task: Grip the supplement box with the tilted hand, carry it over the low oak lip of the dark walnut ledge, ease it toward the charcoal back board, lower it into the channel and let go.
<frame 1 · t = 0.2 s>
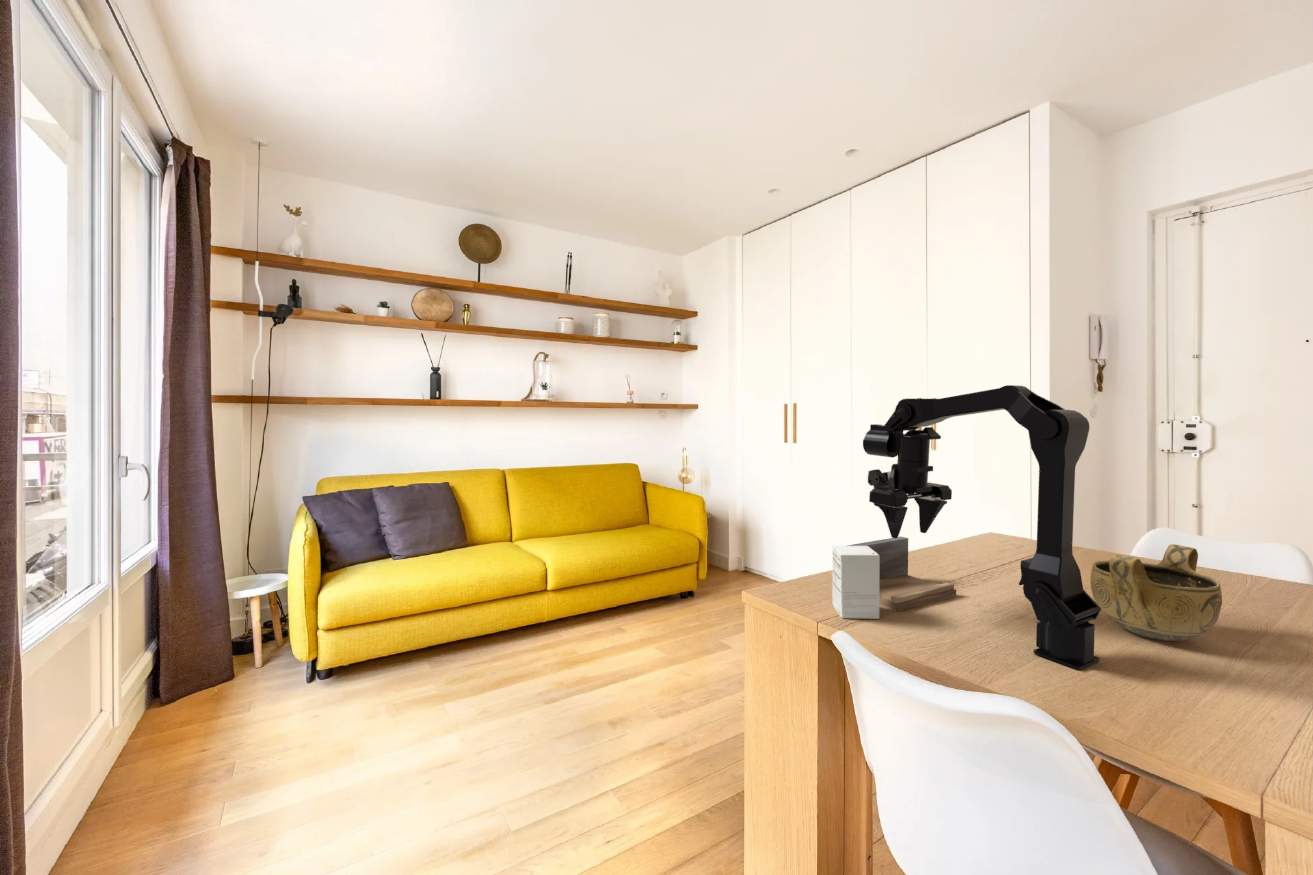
hand: (909, 535, 108), 14 cm above the table, tool pointing down, fingers open, 9 cm apart
supplement box: (854, 613, 104), on the table
ledge: (899, 593, 115), on the table
ceramic bowl: (1150, 634, 93), on the table
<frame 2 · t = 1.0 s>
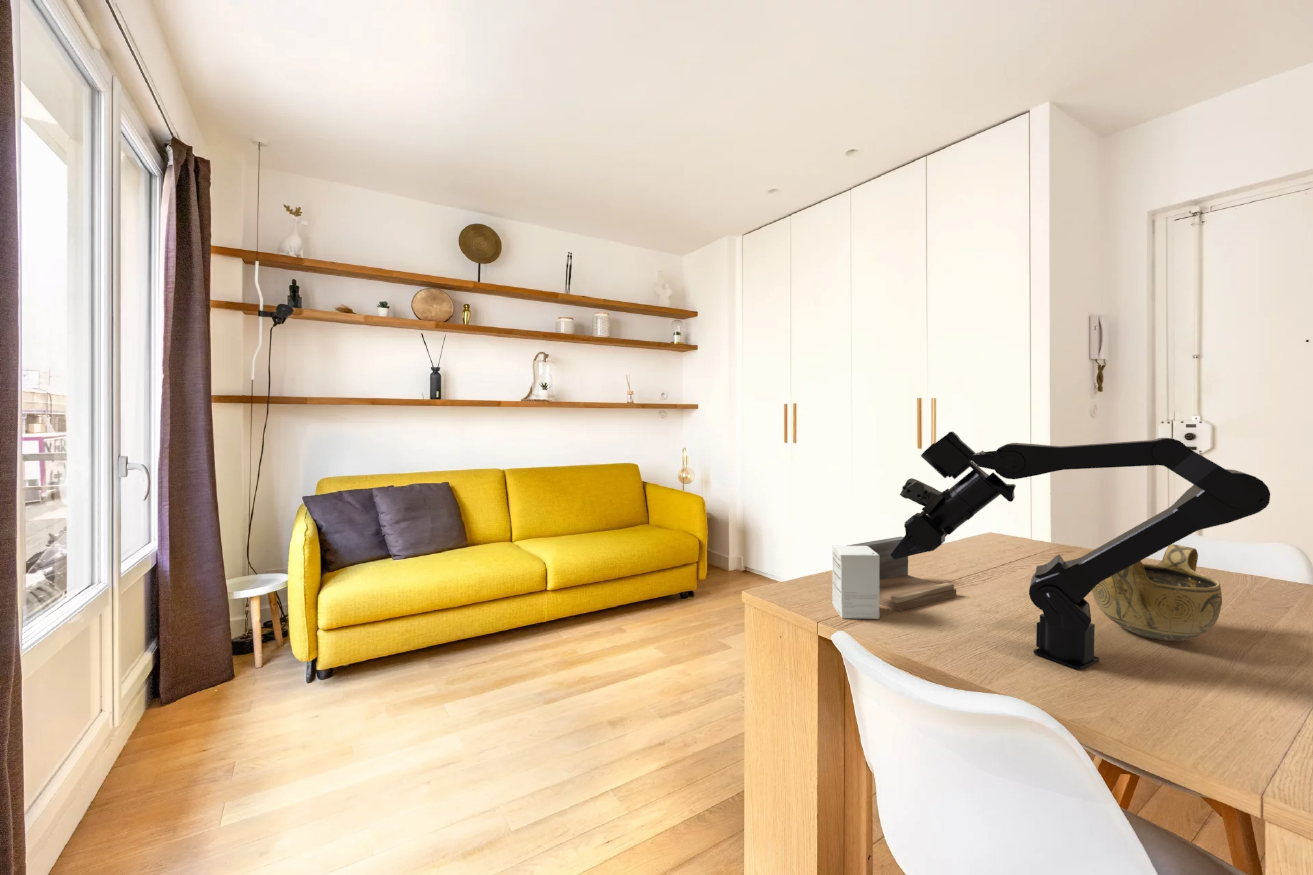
hand: (898, 551, 99), 13 cm above the table, tool tilted 45°, fingers open, 9 cm apart
nothing on the table moved.
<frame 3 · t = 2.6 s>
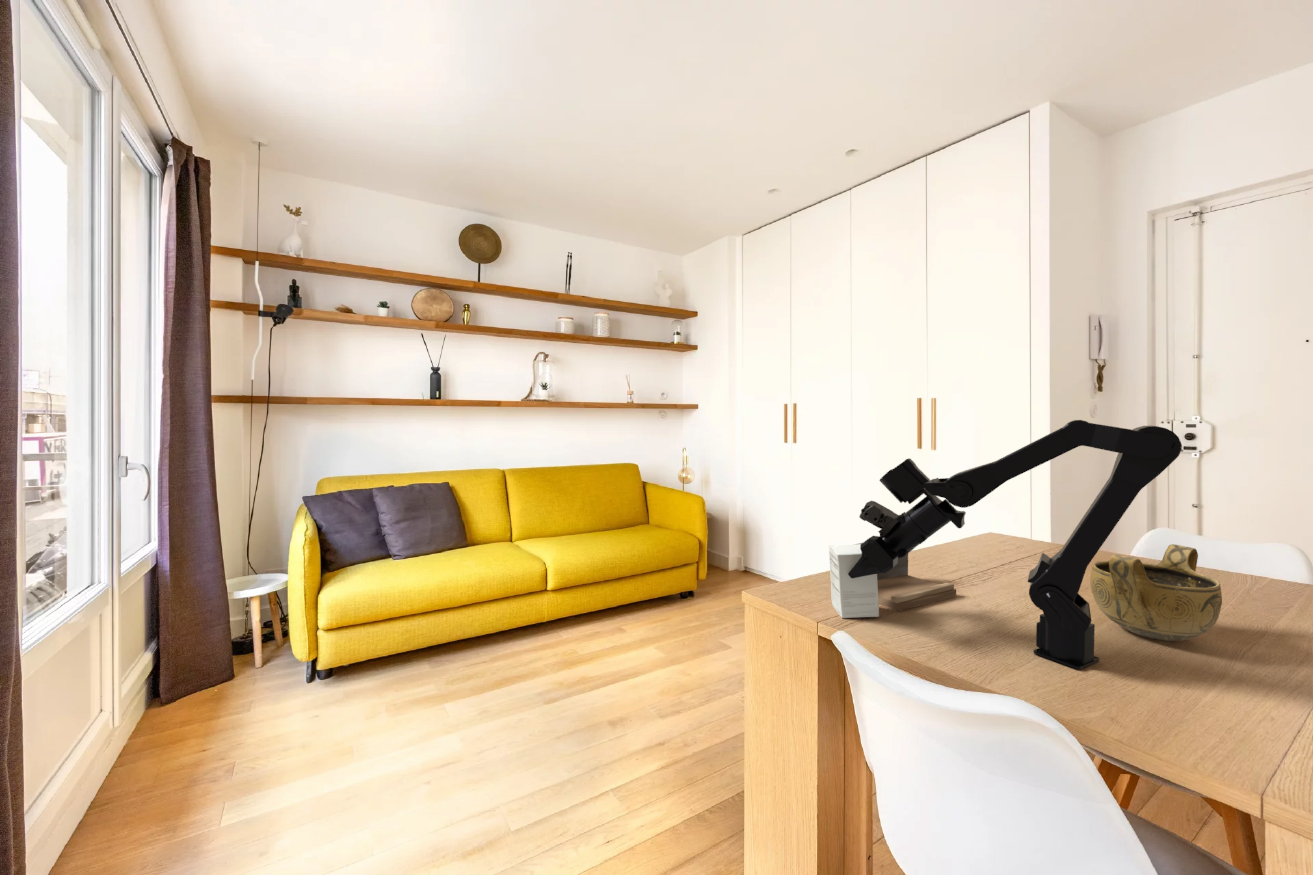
hand: (857, 570, 104), 8 cm above the table, tool tilted 45°, fingers open, 9 cm apart
supplement box: (854, 612, 104), on the table, touching gripper
everything else where it was.
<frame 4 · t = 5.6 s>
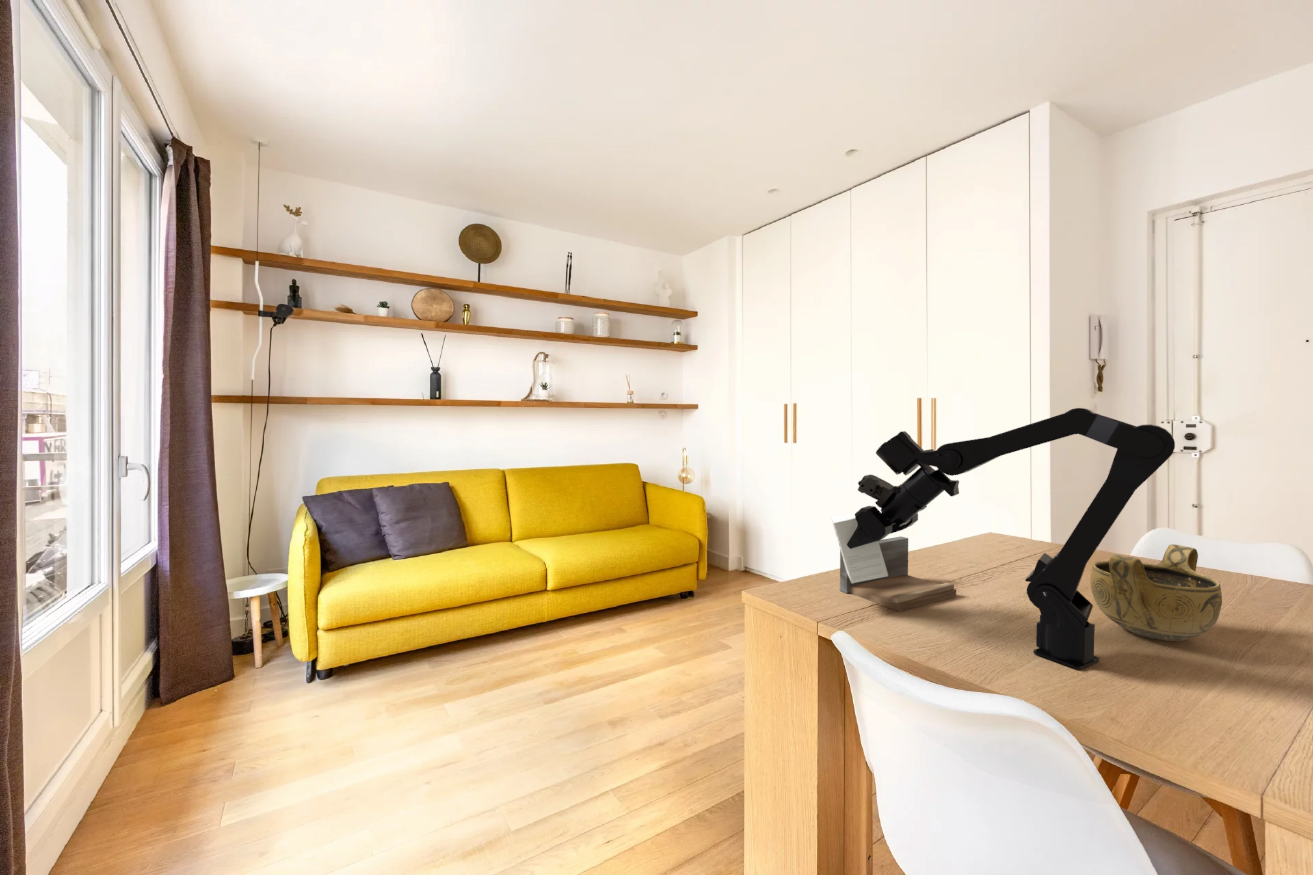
hand: (858, 542, 107), 13 cm above the table, tool tilted 45°, fingers closed on supplement box, 9 cm apart
supplement box: (867, 576, 106), point 6 cm above the table, touching gripper
everything else where it was.
when the fingers open (11 cm above the table, at t = 8.0 s): supplement box drops 3 cm, resting on ledge.
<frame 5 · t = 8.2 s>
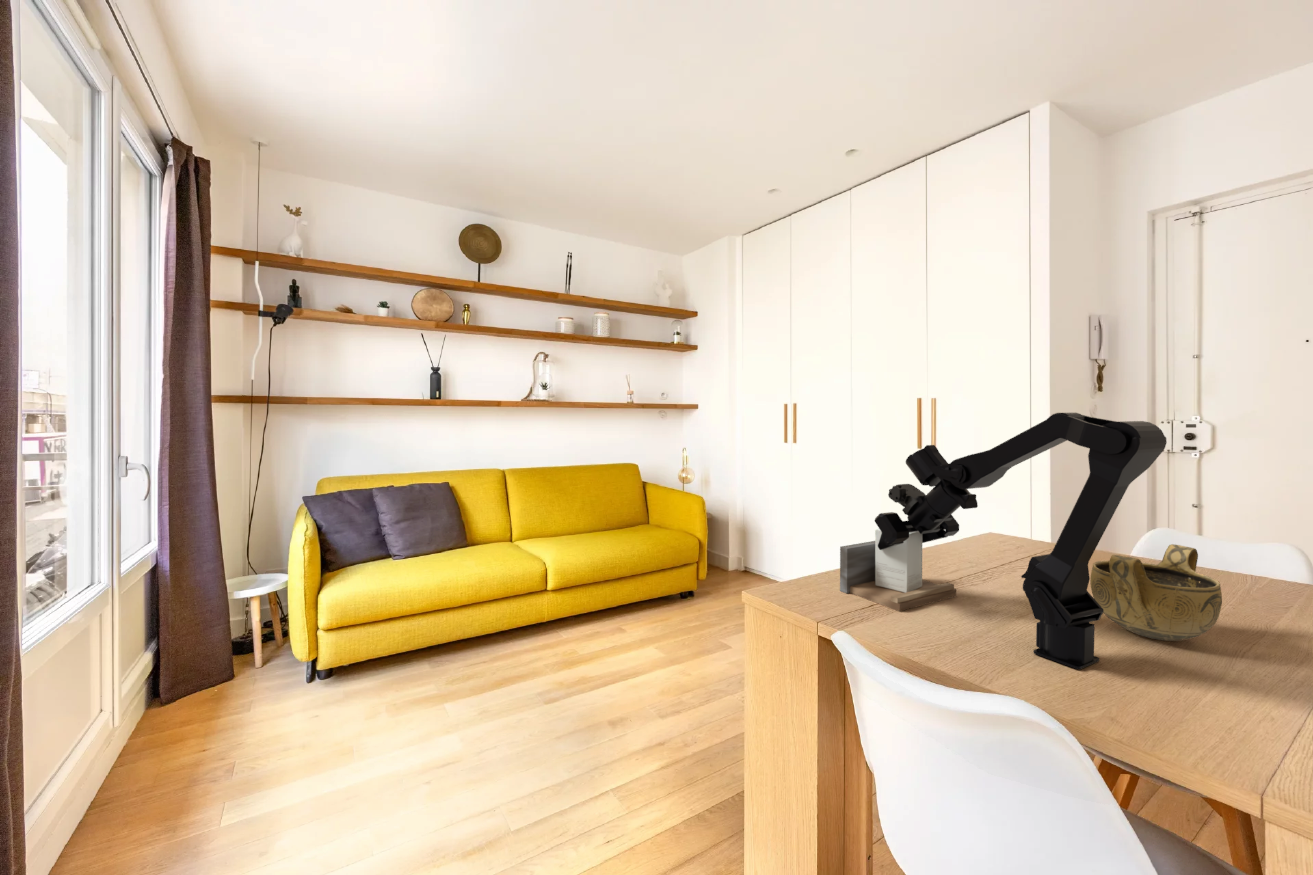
hand: (894, 545, 115), 10 cm above the table, tool tilted 45°, fingers open, 9 cm apart
supplement box: (898, 586, 115), point 1 cm above the table, touching gripper, ledge
everything else where it was.
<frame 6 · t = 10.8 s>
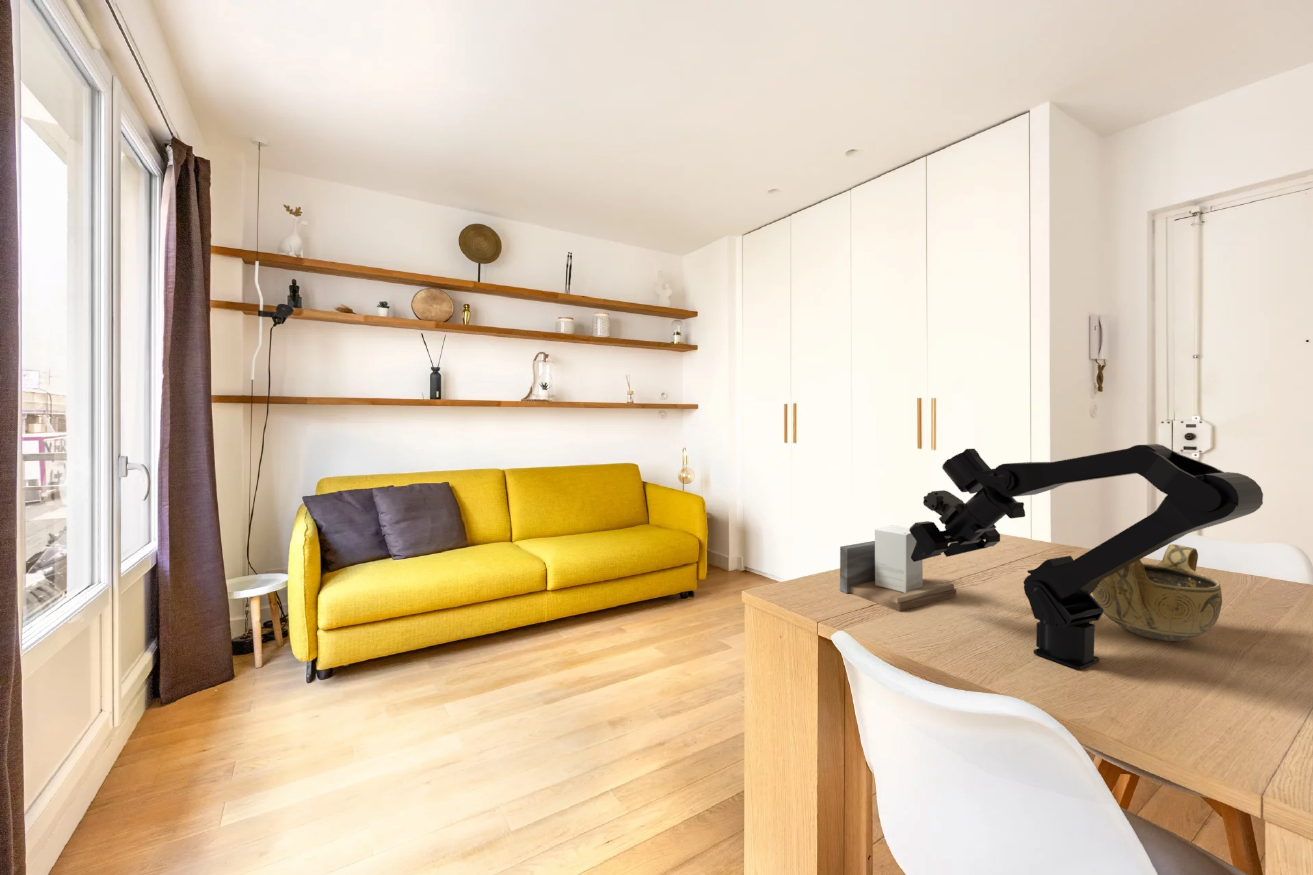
hand: (929, 557, 107), 10 cm above the table, tool tilted 45°, fingers open, 9 cm apart
supplement box: (898, 587, 115), point 1 cm above the table, touching ledge
everything else where it was.
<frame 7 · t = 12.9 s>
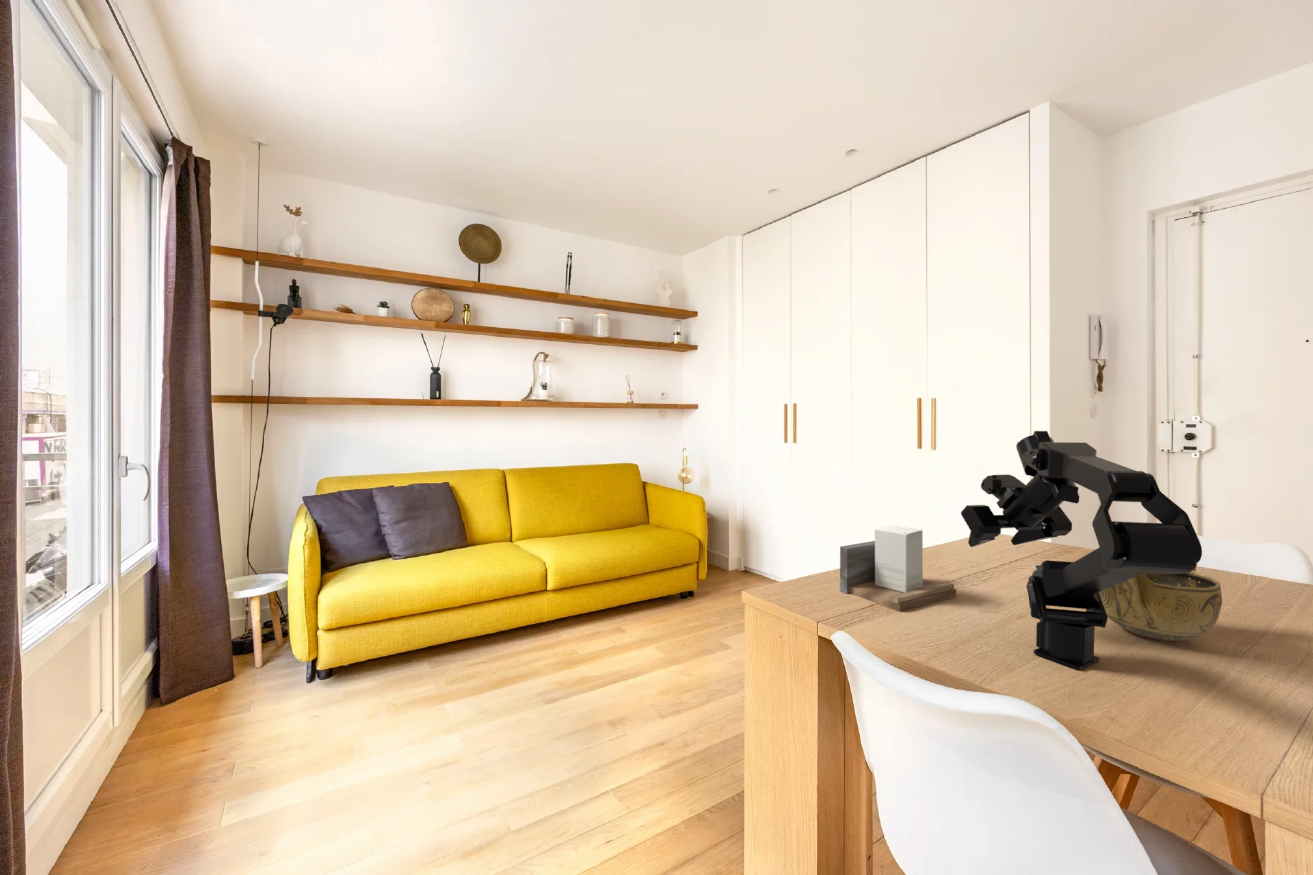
hand: (991, 543, 103), 14 cm above the table, tool tilted 45°, fingers open, 9 cm apart
nothing on the table moved.
at the end: supplement box inside the target area on the ledge (0.4 cm from its centre), point 1.3 cm above the ledge's base; supplement box tilted 0°; the gripper is holding nothing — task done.
